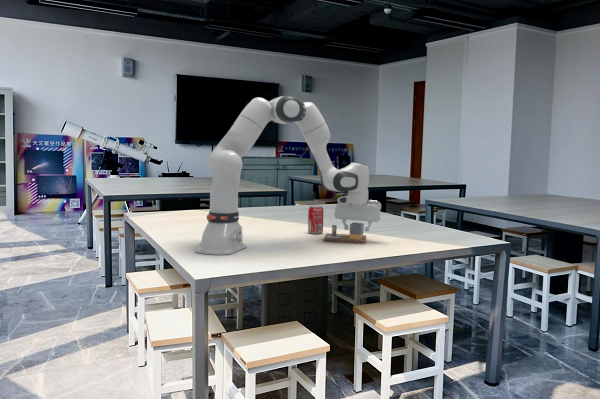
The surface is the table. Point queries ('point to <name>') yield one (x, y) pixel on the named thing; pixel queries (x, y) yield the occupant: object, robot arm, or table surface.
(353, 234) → the sleeve
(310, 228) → the soda can
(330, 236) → the pin board
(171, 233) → the table surface
